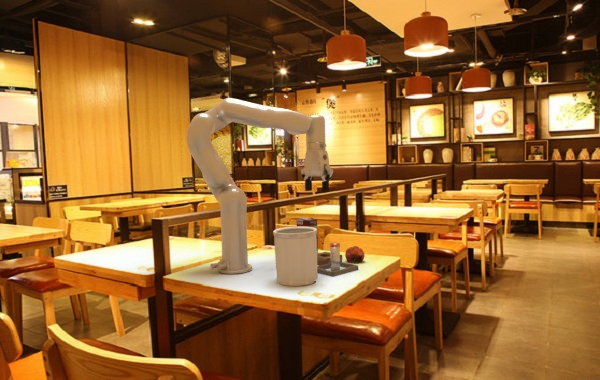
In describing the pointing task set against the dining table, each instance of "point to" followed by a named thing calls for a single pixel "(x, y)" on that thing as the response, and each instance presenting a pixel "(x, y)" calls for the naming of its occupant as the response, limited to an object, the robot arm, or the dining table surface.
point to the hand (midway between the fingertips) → (316, 191)
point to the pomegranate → (354, 254)
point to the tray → (338, 272)
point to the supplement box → (308, 224)
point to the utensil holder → (296, 255)
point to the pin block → (324, 258)
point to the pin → (335, 256)
